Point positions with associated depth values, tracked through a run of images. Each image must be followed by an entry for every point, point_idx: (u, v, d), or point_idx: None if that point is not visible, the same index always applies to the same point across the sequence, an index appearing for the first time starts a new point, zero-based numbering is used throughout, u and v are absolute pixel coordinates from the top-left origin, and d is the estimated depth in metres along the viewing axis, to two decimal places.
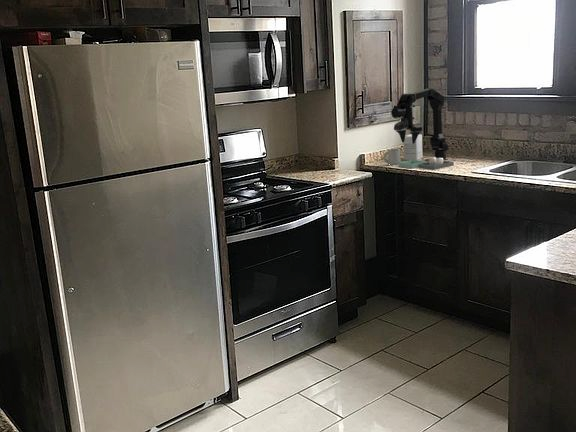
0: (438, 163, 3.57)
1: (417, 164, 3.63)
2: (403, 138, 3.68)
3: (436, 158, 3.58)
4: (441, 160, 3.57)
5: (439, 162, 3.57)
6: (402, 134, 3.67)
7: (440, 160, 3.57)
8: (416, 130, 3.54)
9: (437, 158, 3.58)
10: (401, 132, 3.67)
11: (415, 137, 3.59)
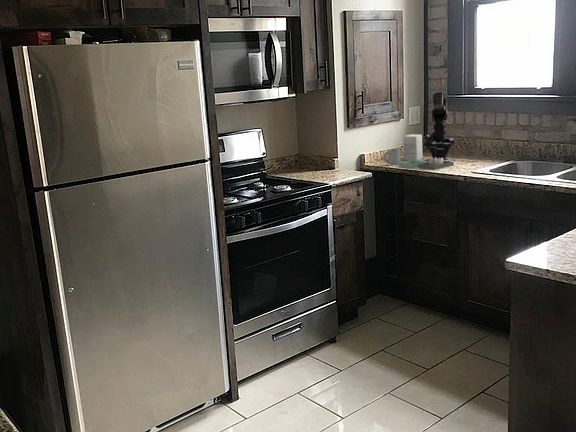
0: (438, 163, 3.57)
1: (417, 164, 3.63)
2: (445, 152, 3.60)
3: (436, 158, 3.58)
4: (441, 160, 3.57)
5: (439, 162, 3.57)
6: (445, 148, 3.60)
7: (440, 160, 3.57)
8: (425, 145, 3.53)
9: (437, 158, 3.58)
10: (444, 146, 3.60)
11: (433, 152, 3.54)
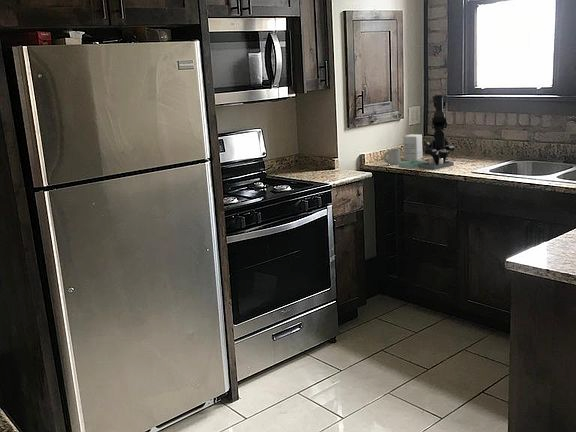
0: (438, 163, 3.57)
1: (417, 164, 3.63)
2: None
3: None
4: (441, 160, 3.57)
5: (439, 162, 3.57)
6: (442, 156, 3.60)
7: (440, 160, 3.57)
8: (425, 153, 3.54)
9: None
10: (441, 154, 3.60)
11: (436, 159, 3.56)
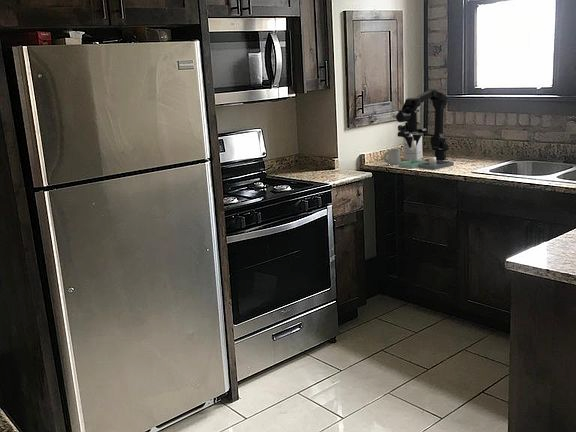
0: (411, 145, 3.64)
1: (417, 164, 3.63)
2: None
3: None
4: (414, 143, 3.63)
5: (412, 144, 3.63)
6: (415, 138, 3.66)
7: (413, 142, 3.63)
8: (398, 135, 3.60)
9: None
10: (414, 136, 3.66)
11: (409, 142, 3.62)
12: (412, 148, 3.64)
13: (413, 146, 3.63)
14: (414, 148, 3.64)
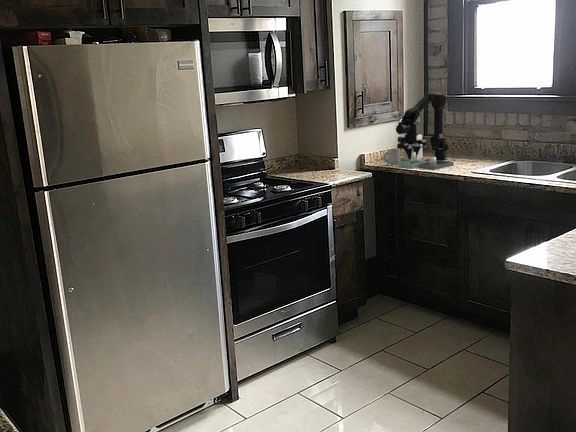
0: (411, 157, 3.65)
1: (417, 164, 3.63)
2: None
3: None
4: (414, 154, 3.65)
5: (411, 156, 3.65)
6: (414, 150, 3.68)
7: (412, 154, 3.65)
8: (398, 147, 3.62)
9: None
10: (414, 148, 3.68)
11: (408, 153, 3.64)
12: (412, 159, 3.66)
13: (413, 157, 3.65)
14: (414, 159, 3.66)
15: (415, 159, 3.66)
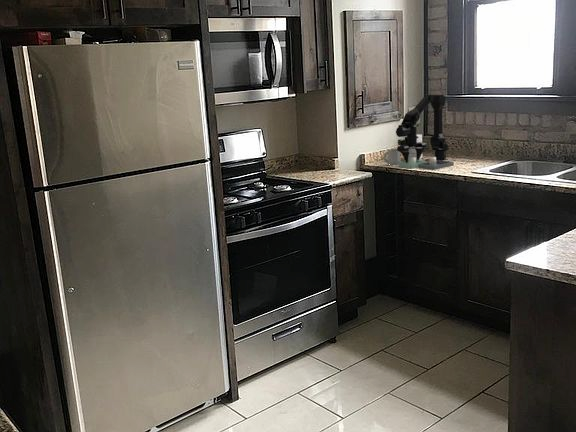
0: (411, 162, 3.66)
1: (417, 164, 3.63)
2: (418, 156, 3.69)
3: (409, 157, 3.67)
4: (414, 160, 3.66)
5: (412, 161, 3.66)
6: (417, 152, 3.69)
7: (413, 159, 3.66)
8: (398, 149, 3.62)
9: (410, 157, 3.67)
10: (417, 150, 3.70)
11: (405, 157, 3.63)
12: None
13: (413, 163, 3.66)
14: None
15: None
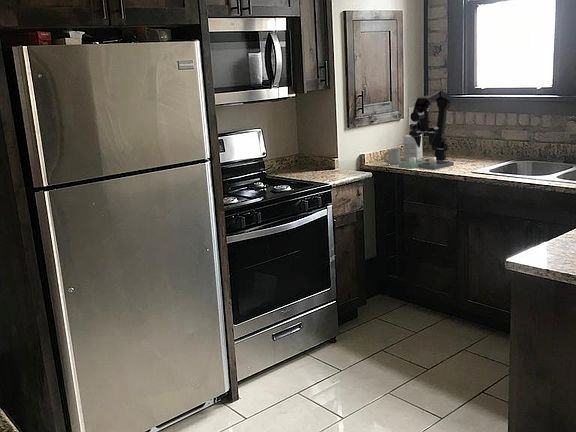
0: (411, 162, 3.66)
1: (417, 164, 3.63)
2: (430, 141, 3.68)
3: (409, 157, 3.67)
4: (414, 160, 3.66)
5: (412, 161, 3.66)
6: (430, 137, 3.68)
7: (413, 159, 3.66)
8: (410, 134, 3.61)
9: (410, 157, 3.67)
10: (429, 134, 3.68)
11: (417, 141, 3.62)
12: None
13: (413, 163, 3.66)
14: None
15: None
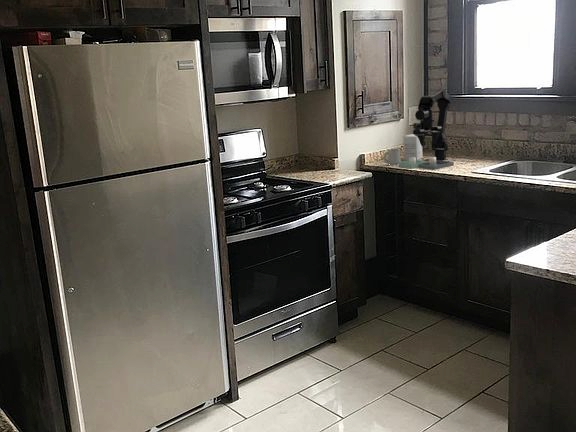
0: (411, 162, 3.66)
1: (417, 164, 3.63)
2: (433, 140, 3.68)
3: (409, 157, 3.67)
4: (414, 160, 3.66)
5: (412, 161, 3.66)
6: (433, 136, 3.68)
7: (413, 159, 3.66)
8: (414, 133, 3.61)
9: (410, 157, 3.67)
10: (432, 134, 3.68)
11: (421, 140, 3.62)
12: None
13: (413, 163, 3.66)
14: None
15: None
